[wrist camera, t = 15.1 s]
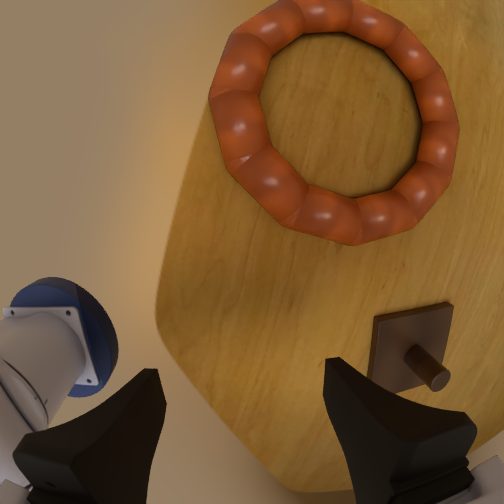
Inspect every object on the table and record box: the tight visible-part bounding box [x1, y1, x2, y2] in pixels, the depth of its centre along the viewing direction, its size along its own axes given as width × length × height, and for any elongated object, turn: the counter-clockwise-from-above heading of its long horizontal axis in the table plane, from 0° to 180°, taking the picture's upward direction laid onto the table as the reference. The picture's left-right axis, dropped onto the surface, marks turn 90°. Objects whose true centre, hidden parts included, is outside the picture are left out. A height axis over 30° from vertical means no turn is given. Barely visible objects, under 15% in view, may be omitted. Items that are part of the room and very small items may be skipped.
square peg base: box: [367, 302, 454, 394], centre depth 21 cm, size 8×8×6 cm
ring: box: [208, 0, 460, 246], centre depth 18 cm, size 18×18×3 cm
